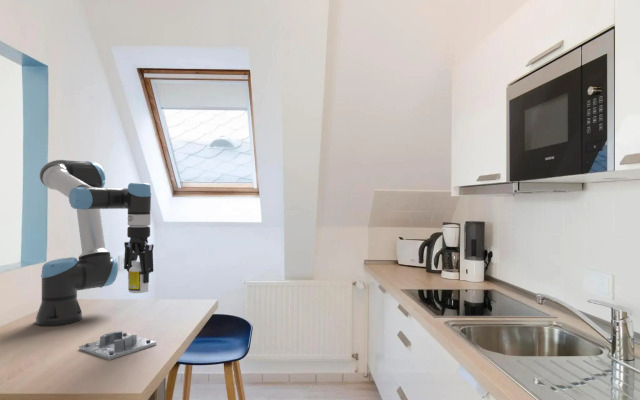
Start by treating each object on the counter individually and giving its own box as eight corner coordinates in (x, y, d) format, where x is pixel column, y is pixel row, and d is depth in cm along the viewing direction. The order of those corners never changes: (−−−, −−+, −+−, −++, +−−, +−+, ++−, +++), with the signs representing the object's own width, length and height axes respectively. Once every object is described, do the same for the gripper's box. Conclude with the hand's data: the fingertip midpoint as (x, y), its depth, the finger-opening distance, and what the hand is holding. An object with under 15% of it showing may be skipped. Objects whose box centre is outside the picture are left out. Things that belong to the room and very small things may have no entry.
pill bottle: (140, 294, 150) (141, 262, 150) (124, 293, 152) (125, 261, 152) (151, 290, 157) (151, 259, 156) (135, 289, 158) (136, 259, 158)
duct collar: (79, 349, 134) (79, 338, 134) (126, 335, 148) (126, 325, 148) (109, 360, 126) (109, 348, 126) (156, 344, 139) (156, 333, 139)
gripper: (113, 225, 156) (112, 289, 156) (146, 228, 146) (145, 296, 146) (132, 224, 162) (131, 285, 162) (165, 227, 152) (164, 292, 152)
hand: (138, 290), depth 154 cm, fingers closed on pill bottle, 6 cm apart
